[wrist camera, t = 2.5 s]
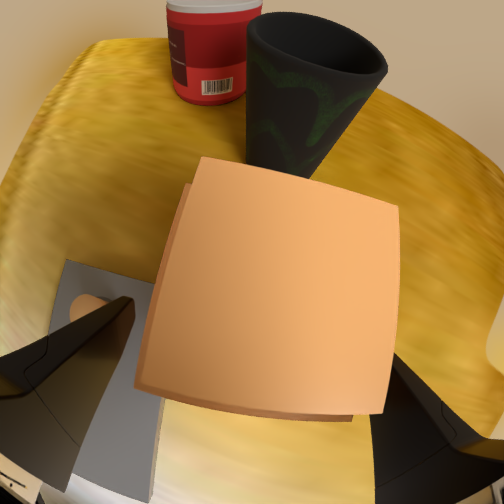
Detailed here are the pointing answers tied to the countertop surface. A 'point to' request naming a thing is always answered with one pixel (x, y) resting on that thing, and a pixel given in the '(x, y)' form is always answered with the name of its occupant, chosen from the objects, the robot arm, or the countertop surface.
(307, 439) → the countertop surface
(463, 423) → the robot arm
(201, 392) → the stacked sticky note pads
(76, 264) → the board
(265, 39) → the cup
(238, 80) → the canned food
